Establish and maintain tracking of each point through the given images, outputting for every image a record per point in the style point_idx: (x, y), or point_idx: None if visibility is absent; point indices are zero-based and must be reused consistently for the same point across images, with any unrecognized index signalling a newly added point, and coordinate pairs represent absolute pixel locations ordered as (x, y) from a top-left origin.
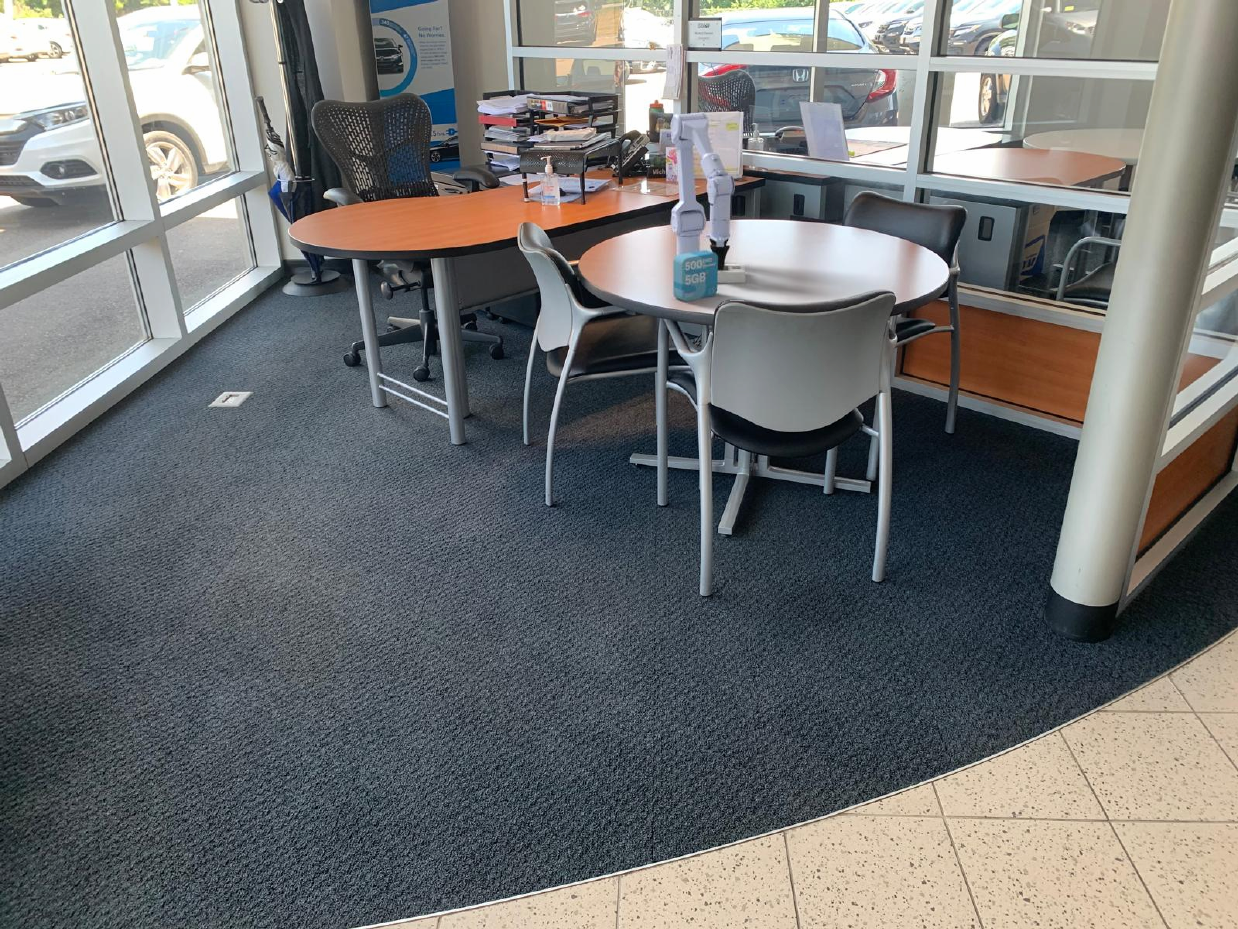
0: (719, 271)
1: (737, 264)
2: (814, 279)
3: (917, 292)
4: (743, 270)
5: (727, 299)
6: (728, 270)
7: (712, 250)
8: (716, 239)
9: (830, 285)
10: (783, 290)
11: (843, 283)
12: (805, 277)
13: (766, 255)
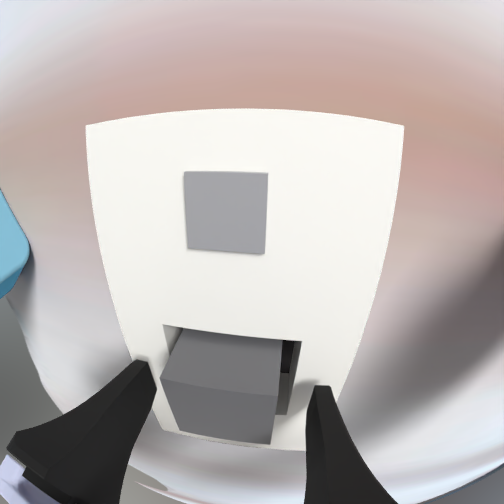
0: (154, 364)
1: (301, 438)
2: (225, 479)
3: (167, 494)
4: (189, 433)
5: (8, 298)
6: None
7: (28, 431)
8: (5, 497)
9: (182, 476)
10: None
11: (199, 486)
12: (242, 477)
13: (473, 432)
